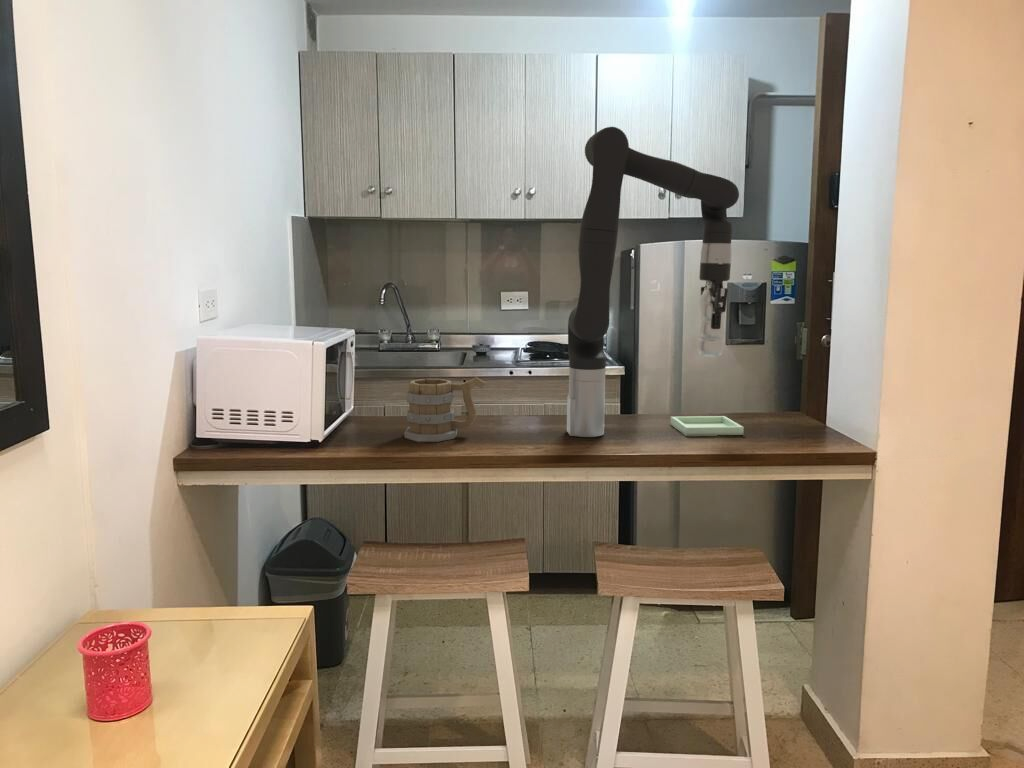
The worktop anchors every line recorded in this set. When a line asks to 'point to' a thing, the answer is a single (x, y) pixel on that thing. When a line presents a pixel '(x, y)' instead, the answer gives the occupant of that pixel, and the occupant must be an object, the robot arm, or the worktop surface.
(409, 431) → the tankard
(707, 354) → the plastic bottle
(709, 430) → the tray
